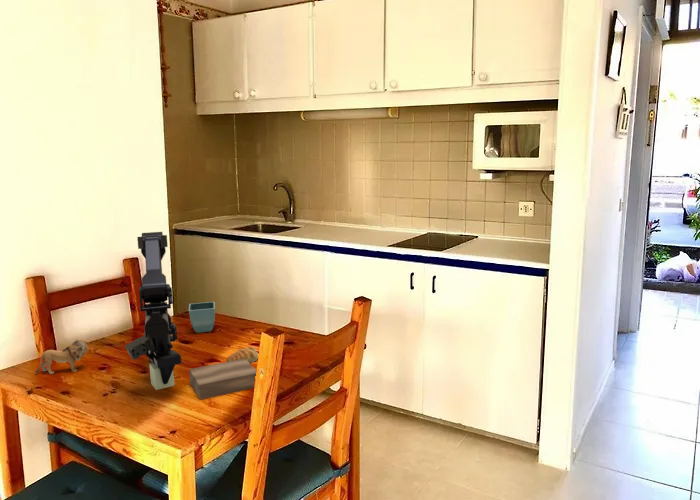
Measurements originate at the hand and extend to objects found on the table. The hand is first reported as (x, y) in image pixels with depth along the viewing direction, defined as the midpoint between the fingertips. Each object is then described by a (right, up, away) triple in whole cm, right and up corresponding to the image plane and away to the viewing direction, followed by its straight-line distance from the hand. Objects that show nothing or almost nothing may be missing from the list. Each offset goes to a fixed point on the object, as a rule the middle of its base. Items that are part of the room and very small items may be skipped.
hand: (162, 380), depth 162 cm
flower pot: (0, +7, +45) cm, 46 cm away
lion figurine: (-33, 0, +12) cm, 35 cm away
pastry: (+20, +2, +16) cm, 26 cm away
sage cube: (0, -1, 0) cm, 1 cm away
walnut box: (+17, -1, 0) cm, 17 cm away
